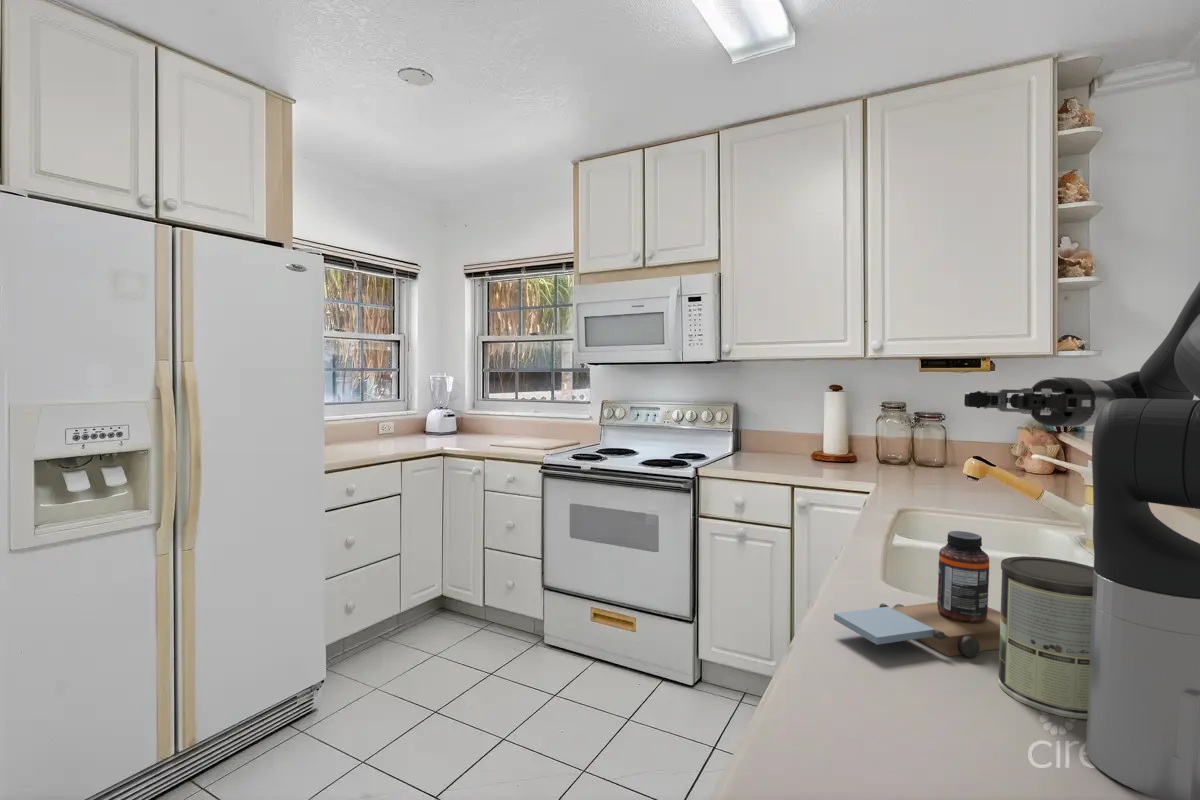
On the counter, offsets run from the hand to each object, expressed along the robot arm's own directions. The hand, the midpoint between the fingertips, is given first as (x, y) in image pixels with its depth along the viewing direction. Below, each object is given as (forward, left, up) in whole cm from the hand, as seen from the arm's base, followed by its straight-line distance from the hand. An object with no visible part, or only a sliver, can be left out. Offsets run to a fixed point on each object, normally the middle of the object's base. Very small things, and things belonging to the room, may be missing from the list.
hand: (992, 400), depth 89 cm
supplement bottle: (-4, +9, -30) cm, 31 cm away
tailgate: (-3, +17, -29) cm, 34 cm away
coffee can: (-19, +13, -32) cm, 40 cm away
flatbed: (-4, +9, -32) cm, 34 cm away
